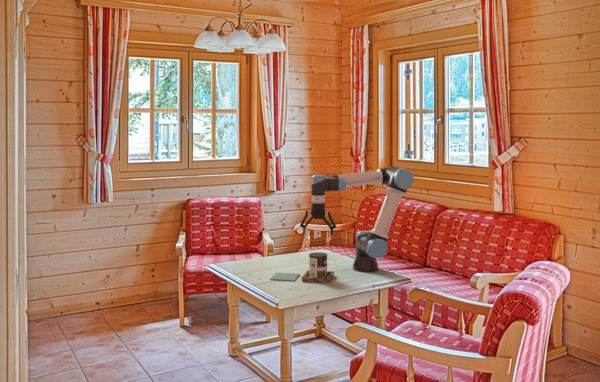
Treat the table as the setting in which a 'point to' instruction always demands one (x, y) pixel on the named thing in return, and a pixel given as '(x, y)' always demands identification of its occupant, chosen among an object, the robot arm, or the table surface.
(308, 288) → the table surface
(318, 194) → the robot arm
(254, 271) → the table surface
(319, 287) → the table surface
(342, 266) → the table surface
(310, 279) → the tray
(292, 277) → the mat
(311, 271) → the coffee can
